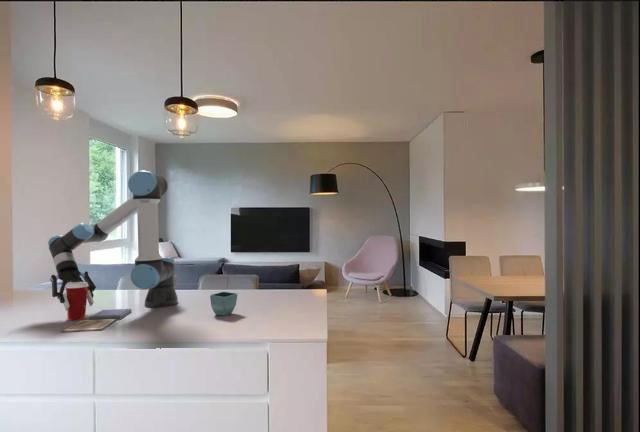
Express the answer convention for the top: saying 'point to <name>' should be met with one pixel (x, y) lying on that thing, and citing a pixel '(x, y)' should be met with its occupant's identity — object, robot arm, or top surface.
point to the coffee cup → (76, 300)
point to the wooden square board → (90, 325)
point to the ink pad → (110, 314)
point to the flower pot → (223, 303)
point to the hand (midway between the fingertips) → (80, 306)
